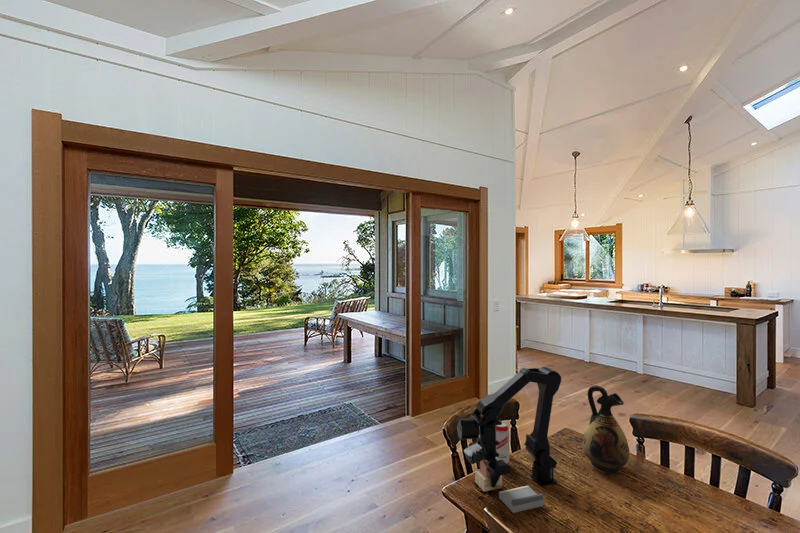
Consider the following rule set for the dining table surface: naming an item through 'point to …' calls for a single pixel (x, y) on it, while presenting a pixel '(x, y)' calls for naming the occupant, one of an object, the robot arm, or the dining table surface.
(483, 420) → the robot arm
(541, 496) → the dock
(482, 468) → the block
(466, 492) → the dining table surface
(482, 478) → the beige slotted block
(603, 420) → the ceramic jug
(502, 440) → the beer can
